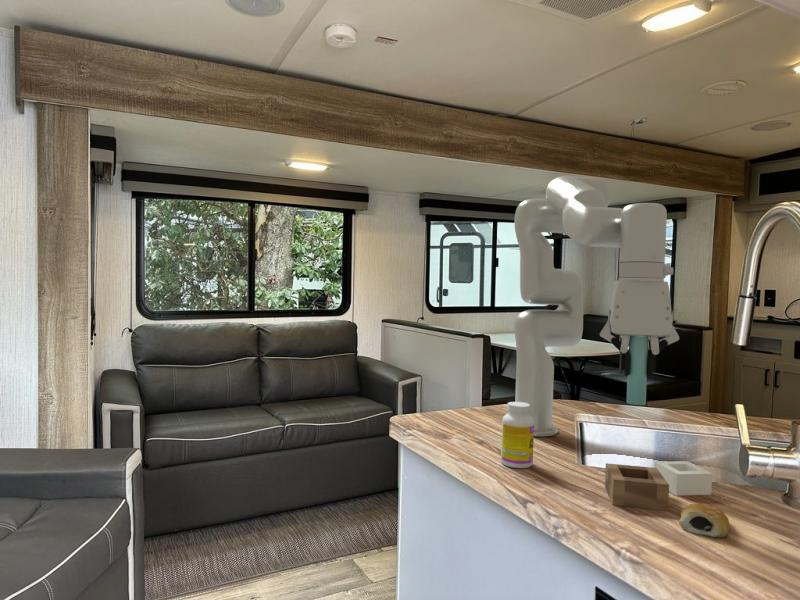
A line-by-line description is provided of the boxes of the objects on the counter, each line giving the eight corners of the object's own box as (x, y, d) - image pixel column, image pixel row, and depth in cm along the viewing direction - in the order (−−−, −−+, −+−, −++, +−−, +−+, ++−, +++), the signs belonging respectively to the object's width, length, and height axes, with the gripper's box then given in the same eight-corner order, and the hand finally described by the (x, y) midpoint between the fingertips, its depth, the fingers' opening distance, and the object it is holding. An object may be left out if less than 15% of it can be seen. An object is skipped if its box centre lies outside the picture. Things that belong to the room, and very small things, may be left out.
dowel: (624, 400, 102) (627, 324, 101) (643, 402, 101) (646, 325, 101) (627, 404, 99) (631, 325, 98) (647, 405, 98) (651, 326, 97)
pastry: (688, 512, 95) (689, 490, 95) (733, 523, 91) (735, 501, 91) (676, 530, 88) (678, 506, 88) (725, 544, 84) (727, 519, 83)
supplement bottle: (533, 470, 113) (535, 408, 113) (500, 467, 115) (502, 406, 114) (532, 460, 120) (534, 401, 120) (501, 457, 121) (503, 399, 121)
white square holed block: (654, 481, 109) (654, 461, 109) (686, 481, 110) (687, 461, 110) (676, 495, 102) (677, 474, 102) (711, 494, 103) (712, 473, 103)
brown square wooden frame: (604, 486, 106) (605, 463, 105) (655, 491, 104) (656, 467, 104) (612, 504, 97) (613, 479, 97) (668, 510, 95) (669, 484, 95)
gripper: (685, 274, 101) (680, 375, 102) (590, 272, 105) (587, 369, 105) (697, 273, 94) (693, 381, 94) (595, 271, 97) (591, 375, 98)
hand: (637, 374), depth 100 cm, fingers closed on dowel, 3 cm apart
